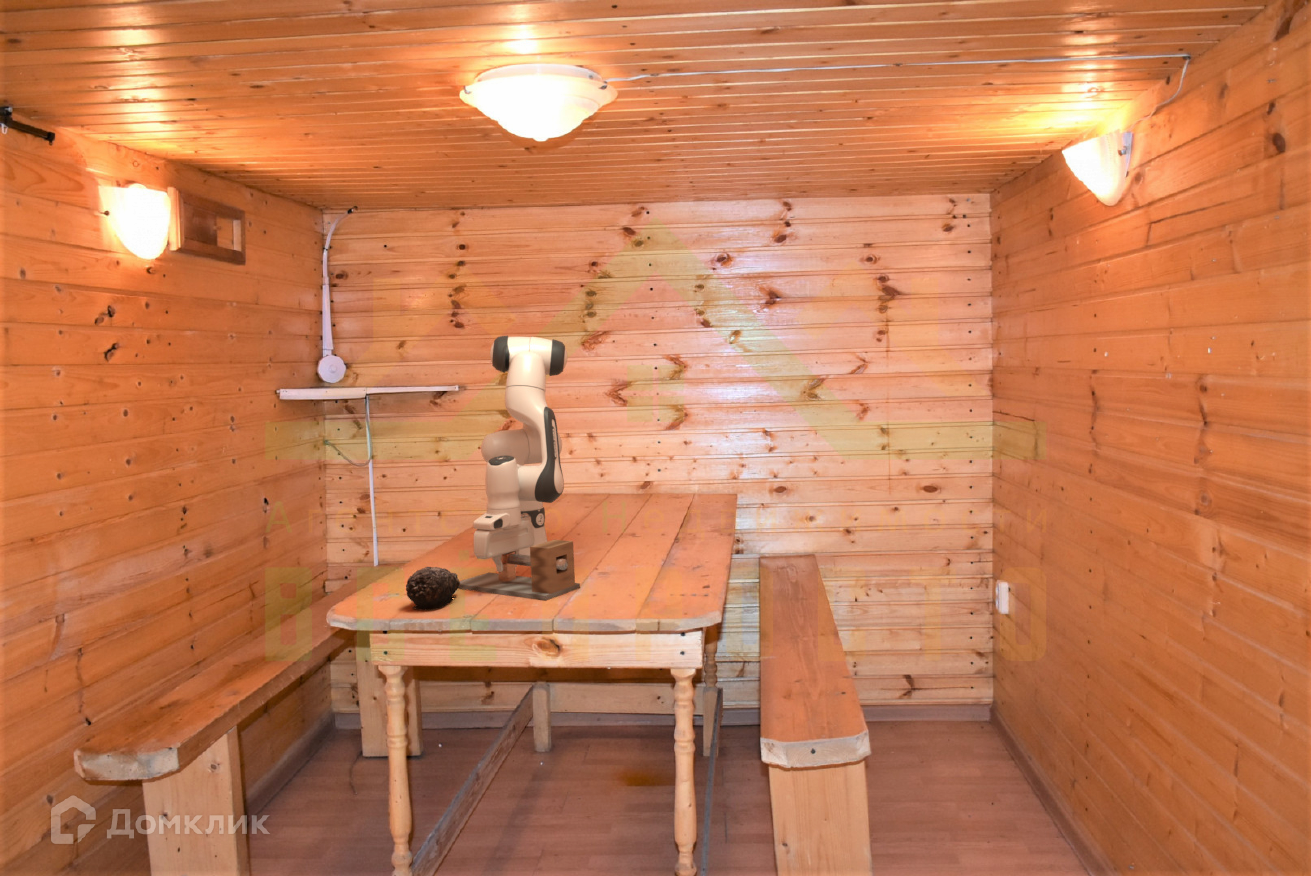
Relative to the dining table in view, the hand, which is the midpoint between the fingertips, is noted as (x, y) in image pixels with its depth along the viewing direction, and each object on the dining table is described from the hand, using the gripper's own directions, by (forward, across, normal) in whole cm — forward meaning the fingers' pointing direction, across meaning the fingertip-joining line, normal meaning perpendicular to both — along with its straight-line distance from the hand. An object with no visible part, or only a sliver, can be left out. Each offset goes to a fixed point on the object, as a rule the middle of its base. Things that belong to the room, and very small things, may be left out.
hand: (506, 569), depth 246 cm
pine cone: (+5, +21, -6) cm, 22 cm away
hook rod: (+3, 0, +9) cm, 9 cm away
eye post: (+5, 0, +3) cm, 5 cm away
